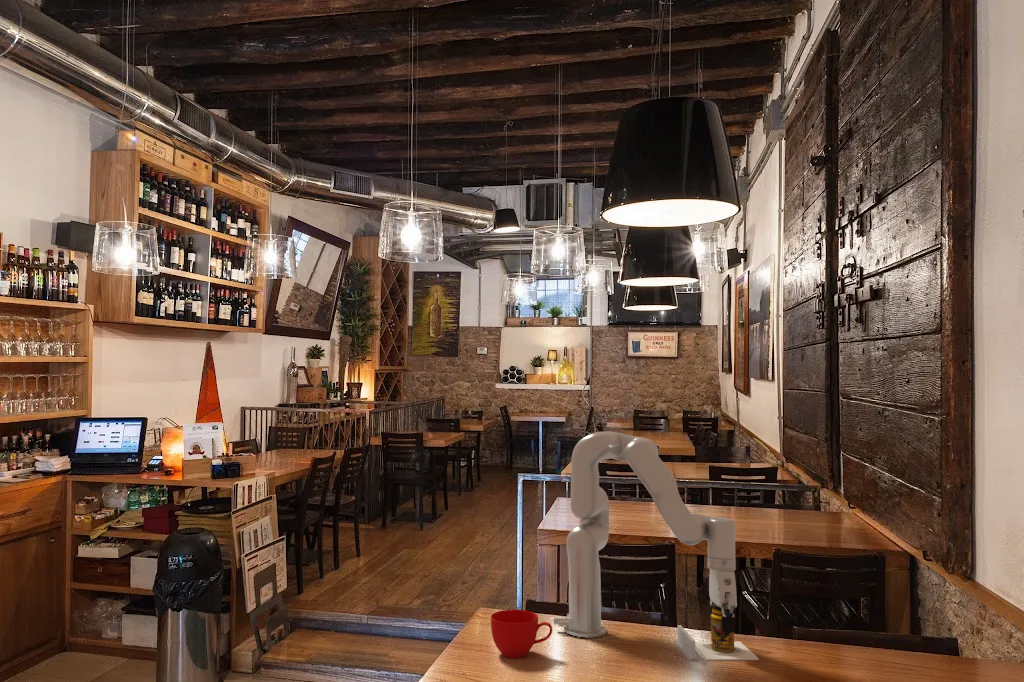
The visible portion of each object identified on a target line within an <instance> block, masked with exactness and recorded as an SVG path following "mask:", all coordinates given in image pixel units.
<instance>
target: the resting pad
mask: <svg viewBox="0 0 1024 682" xmlns="http://www.w3.org/2000/svg"><path fill="white" fill-rule="evenodd" d="M711 643H712V641H695V650H697V651H698V652H699V654H700V655H701V656H702V657H703V658H704V660H705V661H706V662H707V661H709V662H710V661H759V660H760V659H759V658H758V656H757V655H755V653H753V652H752V651H751V650H750V649H749V648H748V647H746V645H745V644H743V643H742V641H734V647H735V648H736V649H738V650H741V651H740V652H734V653H727V654H717V653H716V652H714V651H712V650H710V649H709V648H708V647H706V646H704V645H702V644H711Z"/></svg>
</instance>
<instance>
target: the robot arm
mask: <svg viewBox="0 0 1024 682" xmlns="http://www.w3.org/2000/svg"><path fill="white" fill-rule="evenodd" d="M659 452H660V451H659V448H658V446H657V444H656V442H654V441H653V440H651V439H649V438H646V437H640V436H635V435H631V434H627V433H621V432H616V431H611V430H609V431H606V430H605V431H596V432H592V433H590V434H588V435H586V436H584V437H582V438H581V439H580V440H579V441H577V443H576V444H575V446H574V447H573V450H572V455H571V462H570V463H571V467H570V468H571V470H570V471H571V472H570V473H571V474H570V475H571V476H570V509H571V513H572V515H573V516H575V517H576V518H577V519H579V524H577V525H575V526H574V527H573V528H571V529H570V531H569V533H568V534H567V538H566V553H567V560H568V561H567V562H568V563H567V564H568V613H566V616H564V617H553V625H558V627H563V631H565V632H566V633H568V634H570V635H574V636H577V637H576V638H580V637H585V638H584V639H594V637H595V638H599V637H602V636H604V635H605V634H607V628H606V626H605V625H603V624H602V604H601V603H602V602H601V601H602V600H601V599H602V598H601V597H602V594H601V593H602V591H601V590H602V588H601V586H602V585H601V583H602V582H601V564H600V557H599V551H601V550H602V549H604V548H605V546H606V545H607V543H608V541H609V536H610V501H609V497H608V495H607V492H606V491H605V490H604V489H603V488H602V487H601V486H600V471H599V463H600V461H604V460H605V461H607V460H610V459H612V460H615V461H620V462H625V463H627V464H628V465H629V467H630V468H631V470H632V471H633V472H634V474H635V475H636V476H637V478H638V480H640V482H641V483H642V484H643V486H644V487H645V488H646V490H647V491H648V493H649V495H650V496H651V498H652V500H653V503H654V504H655V506H656V508H657V510H658V513H659V514H660V517H662V519H663V521H664V522H665V523H666V525H667V527H668V528H669V529H670V531H671V532H672V533H673V535H675V537H676V539H677V540H679V541H680V542H681V543H682V544H684V545H687V546H695V545H697V544H699V543H701V542H702V541H706V542H707V545H706V546H707V561H706V562H707V568H708V569H709V575H708V577H709V578H708V579H709V580H708V581H709V583H708V590H709V591H708V592H709V594H708V595H709V599H710V601H709V608H710V609H709V614H710V615H709V619H710V621H711V614H712V604H714V603H715V604H716V605H717V606H719V607H720V608H721V609H722V614H723V616H722V632H734V633H735V609H736V608H737V606H738V602H737V601H738V600H737V599H738V598H737V585H736V584H737V583H736V574H735V571H736V568H737V567H736V566H737V564H736V523H735V521H734V520H733V519H732V518H730V517H729V518H728V517H724V516H707V515H705V514H704V515H703V514H699V513H691V511H690V510H689V509H688V507H687V506H686V504H685V503H684V501H683V499H682V497H681V495H680V492H679V490H678V484H677V480H676V477H674V474H672V472H671V471H670V470H669V468H668V467H667V466H666V464H665V463H664V461H663V460H662V458H660V456H659ZM725 609H727V610H726V612H725ZM565 632H564V633H565ZM566 633H565V634H566ZM568 634H567V635H568ZM570 635H569V636H570ZM574 636H573V637H574Z"/></svg>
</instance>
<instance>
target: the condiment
mask: <svg viewBox="0 0 1024 682" xmlns="http://www.w3.org/2000/svg"><path fill="white" fill-rule="evenodd" d="M726 610H727V609H725V612H726ZM722 616H723V614H722V609H721V608H720V607H719V606H717V605H716V604H715V603H714V604H712V614H711V620H710V630H711V631H710V634H711V635H710V637H711V638H710V639H711V641H710V642H712V643H711V644H702V645H704V646H706V647H708V648H709V649H710V650H712V651H714V652H716V653H717V654H727V653H734V652H740V651H741V650H738V649H736V648H735V647H734V642H735V631H734V632H722Z"/></svg>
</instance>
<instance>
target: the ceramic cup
mask: <svg viewBox="0 0 1024 682" xmlns="http://www.w3.org/2000/svg"><path fill="white" fill-rule="evenodd" d="M542 626H547V627H548V628H549V632H548V633H547V635H546V636H544V637H542V638H540V639H537V635H538V634H537V633H538V630H539V628H541V627H542ZM490 628H491V629H490V630H491V635H492V640H493V642H494V645H495V646H496V648H497V650H498V651H499V652H500V653H501V655H502V656H503V657H505V658H508V659H520V658H523V657H526V656H527V654H528V653H529V652H530V650H532V648H533V647H534V645H535V644H540V643H542V642H545V641H547V640H548V639H550V637H551V635H552V634H553V626H552V624H551V623H549V622H546V621H544V622H539V615H538V614H537V613H535V612H534V611H529V610H525V609H524V610H523V609H505V610H499V611H495V612H494V613H492V614H491V615H490Z"/></svg>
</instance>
